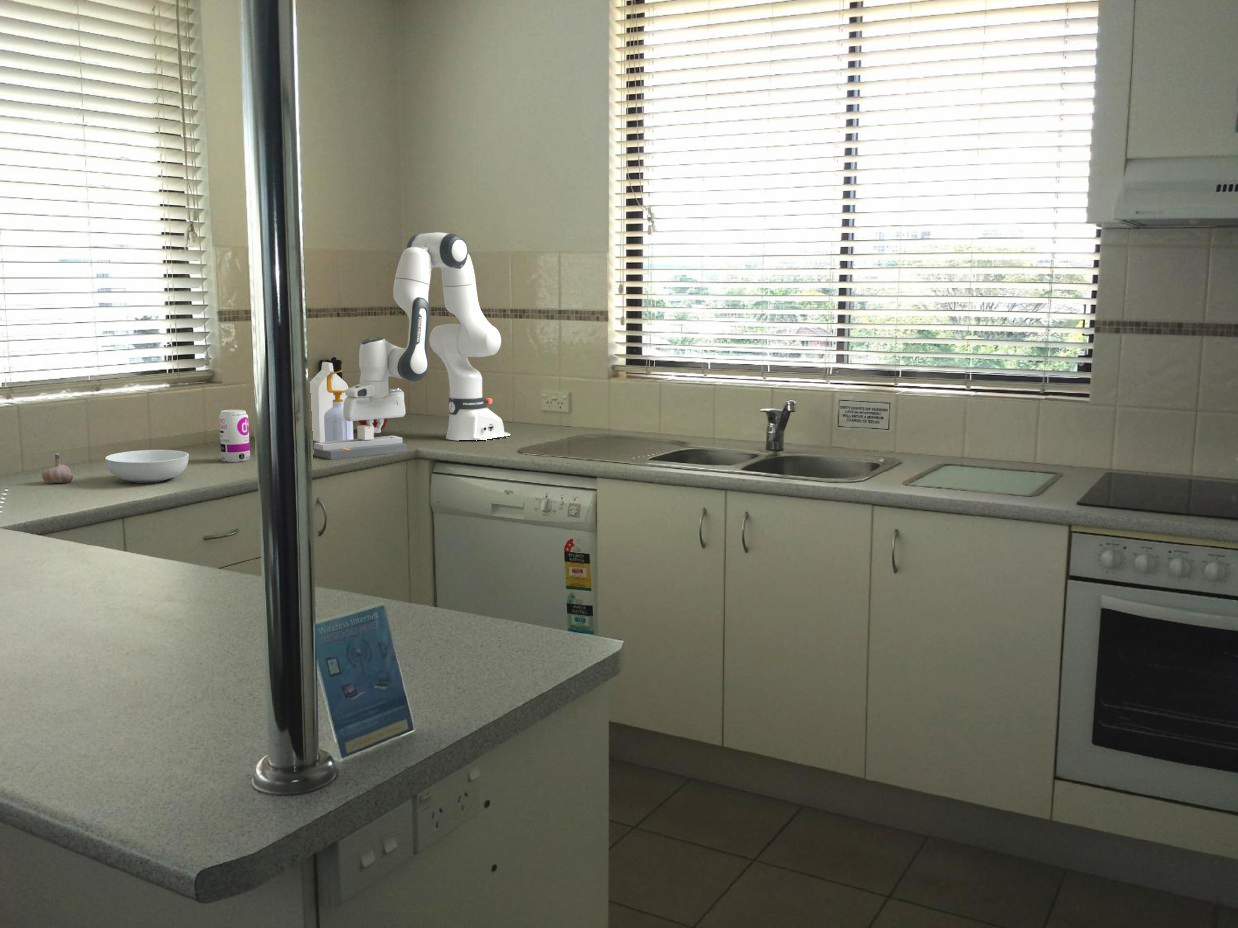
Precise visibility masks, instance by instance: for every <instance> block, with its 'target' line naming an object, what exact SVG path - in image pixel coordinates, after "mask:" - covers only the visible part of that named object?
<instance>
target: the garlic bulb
mask: <svg viewBox="0 0 1238 928" xmlns="http://www.w3.org/2000/svg"><path fill="white" fill-rule="evenodd" d="M54 455H55V458H54V459H55V460H54V462H55V464H54V465H53V466H51V467H49V468H47V469H45V470H44V471H43V473H42V476H41V478H42V480H43V481H44V483H46V484H61V483H62V484H63V483H64V484H68V483H71V482H72V481H73V479H74V478H73V477H74V475H73V472H72V469H71V468H70V467H69V466H68V465H66V464H64V463H63V464H61V459H60V458H61V457H60V456H61V455H60V454H59V453H55V454H54Z"/></svg>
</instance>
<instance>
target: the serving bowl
mask: <svg viewBox="0 0 1238 928" xmlns="http://www.w3.org/2000/svg"><path fill="white" fill-rule="evenodd" d="M189 457H190V454H189V453H188V452H186V451H181V450H173V449H172V450H171V449H145V450H142V449H141V450H131V451H123V452H117V453H116V452H115V453H112V454H109V455H107V456H105V458H104V461H105V465H106V468H107V469H108V471H109V472H110V473H111V474H112V476H114V477H115V478H117V479H120V480H123V481H128V482H131V483H134V482H135V484H153V482H154V483H160V481H161V482H164V480H165V481H167V480H170V479H173V478H175V477H177V476H180V475H181V474H182V473H183V472H184V470H185V469H186V468H187V466H188V464H189Z"/></svg>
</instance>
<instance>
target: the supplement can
mask: <svg viewBox="0 0 1238 928" xmlns="http://www.w3.org/2000/svg"><path fill="white" fill-rule="evenodd" d="M218 422H219V439H220V459H221V460H222V461H223V462H224V461H227V462H226V463H231V462H234V463H240V462H239V461H245V462H247V460H248V461H249V460H250V458H251V450H250V447H251V446H250V430H249V415H248V413H247V412H246V410H245V409H225V410H224V409H223V410H220V414H219V416H218Z"/></svg>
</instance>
